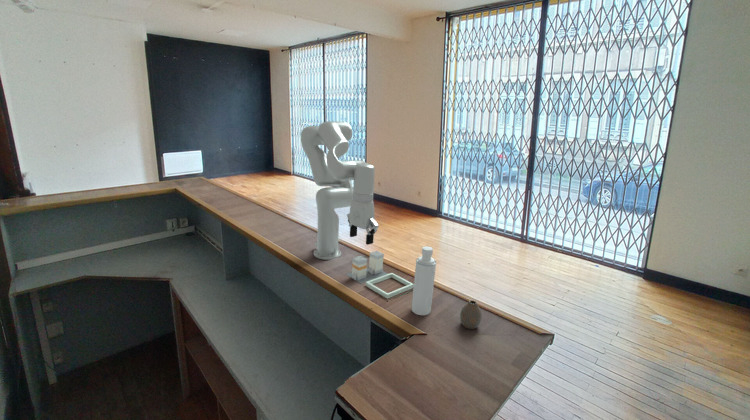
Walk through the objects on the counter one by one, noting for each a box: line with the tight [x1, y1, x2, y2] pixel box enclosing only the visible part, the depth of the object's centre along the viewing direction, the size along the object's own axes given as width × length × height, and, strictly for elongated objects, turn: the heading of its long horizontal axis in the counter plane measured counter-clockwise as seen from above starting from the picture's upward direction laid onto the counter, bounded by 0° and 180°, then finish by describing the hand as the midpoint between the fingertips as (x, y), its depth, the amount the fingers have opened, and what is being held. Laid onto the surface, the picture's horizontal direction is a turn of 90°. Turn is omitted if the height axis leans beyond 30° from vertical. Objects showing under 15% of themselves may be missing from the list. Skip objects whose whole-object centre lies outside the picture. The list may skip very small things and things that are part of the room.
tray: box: [365, 272, 414, 301], centre depth 143 cm, size 12×14×3 cm
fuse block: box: [345, 266, 389, 285], centre depth 152 cm, size 10×15×4 cm, turn 132°
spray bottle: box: [411, 245, 437, 316], centre depth 128 cm, size 7×7×25 cm
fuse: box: [368, 250, 385, 274], centre depth 154 cm, size 4×4×8 cm
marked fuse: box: [351, 255, 368, 280], centre depth 148 cm, size 4×4×8 cm
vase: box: [459, 299, 483, 330], centre depth 123 cm, size 7×7×9 cm
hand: (361, 240), depth 145 cm, fingers open, 9 cm apart
